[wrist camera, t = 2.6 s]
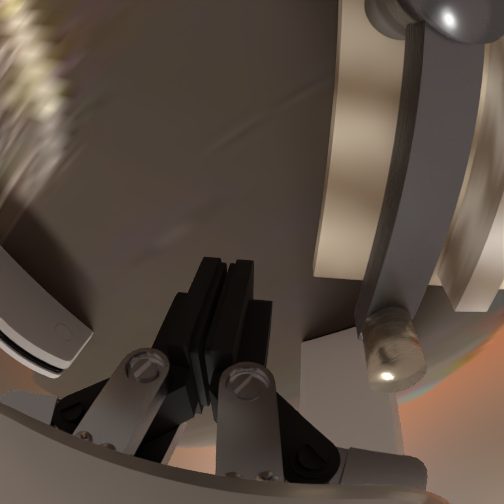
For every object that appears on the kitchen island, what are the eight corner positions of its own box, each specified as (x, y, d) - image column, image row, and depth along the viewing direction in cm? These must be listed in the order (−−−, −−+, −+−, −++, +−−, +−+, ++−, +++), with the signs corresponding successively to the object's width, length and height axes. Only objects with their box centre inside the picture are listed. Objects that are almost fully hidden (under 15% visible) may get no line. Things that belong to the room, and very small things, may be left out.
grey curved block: (-14, 258, 29) (-61, 294, 20) (-1, 231, 28) (-51, 263, 19) (80, 346, 34) (55, 401, 25) (99, 325, 34) (73, 381, 25)
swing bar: (379, -59, 7) (424, -112, 2) (472, -27, 7) (546, -47, 2) (334, 308, 17) (342, 392, 13) (406, 312, 17) (428, 390, 12)
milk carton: (325, 379, 32) (322, 553, 16) (300, 340, 28) (288, 552, 13) (389, 361, 29) (410, 542, 13) (375, 317, 26) (403, 541, 10)
